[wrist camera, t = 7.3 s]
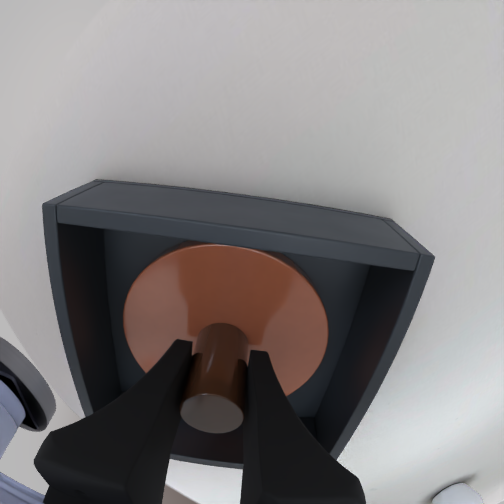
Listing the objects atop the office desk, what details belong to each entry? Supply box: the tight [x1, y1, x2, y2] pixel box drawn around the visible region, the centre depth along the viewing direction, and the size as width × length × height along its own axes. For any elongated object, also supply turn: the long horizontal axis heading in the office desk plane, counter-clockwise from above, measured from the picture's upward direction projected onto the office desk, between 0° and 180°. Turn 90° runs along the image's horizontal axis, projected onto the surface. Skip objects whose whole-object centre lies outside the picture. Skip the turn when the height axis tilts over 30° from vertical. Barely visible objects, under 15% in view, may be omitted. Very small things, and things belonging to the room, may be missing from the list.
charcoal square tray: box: [42, 179, 435, 469], centre depth 13 cm, size 12×12×4 cm
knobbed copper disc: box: [123, 240, 329, 433], centre depth 12 cm, size 9×9×5 cm
